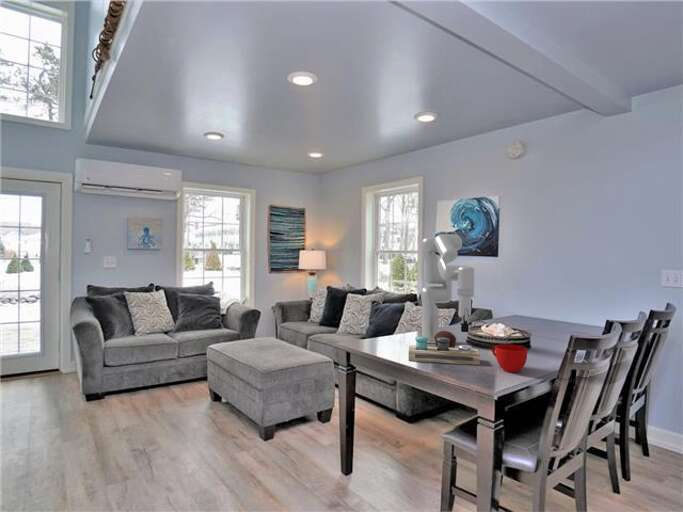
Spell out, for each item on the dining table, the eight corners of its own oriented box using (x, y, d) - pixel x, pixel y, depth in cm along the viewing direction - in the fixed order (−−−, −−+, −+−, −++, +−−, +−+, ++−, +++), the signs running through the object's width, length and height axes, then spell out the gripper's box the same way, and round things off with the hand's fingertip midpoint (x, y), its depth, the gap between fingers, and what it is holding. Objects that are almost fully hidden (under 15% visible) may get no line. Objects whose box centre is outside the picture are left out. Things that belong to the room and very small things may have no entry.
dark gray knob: (436, 349, 202) (436, 337, 202) (449, 350, 201) (449, 337, 201) (436, 352, 196) (436, 339, 196) (449, 353, 195) (450, 340, 195)
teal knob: (415, 348, 204) (415, 336, 204) (427, 349, 203) (428, 336, 203) (415, 351, 198) (415, 338, 198) (428, 352, 197) (428, 339, 197)
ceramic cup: (502, 363, 194) (502, 341, 194) (533, 372, 179) (534, 349, 179) (481, 366, 188) (482, 344, 188) (512, 376, 173) (512, 352, 173)
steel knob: (457, 357, 200) (457, 344, 200) (470, 358, 199) (470, 345, 199) (458, 360, 194) (458, 347, 194) (472, 361, 193) (472, 347, 193)
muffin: (460, 352, 214) (460, 333, 214) (440, 354, 211) (440, 334, 211) (449, 347, 225) (449, 329, 225) (430, 348, 222) (430, 329, 222)
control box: (409, 355, 207) (409, 345, 207) (476, 359, 201) (476, 348, 201) (408, 360, 197) (408, 350, 196) (479, 365, 190) (479, 354, 190)
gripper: (456, 291, 205) (455, 328, 205) (458, 294, 190) (457, 334, 191) (471, 291, 203) (471, 329, 204) (475, 295, 189) (474, 335, 189)
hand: (464, 331), depth 197 cm, fingers closed
